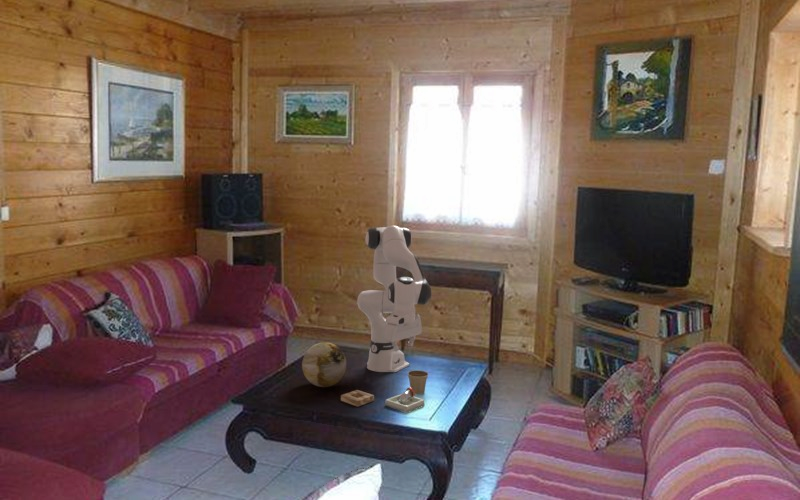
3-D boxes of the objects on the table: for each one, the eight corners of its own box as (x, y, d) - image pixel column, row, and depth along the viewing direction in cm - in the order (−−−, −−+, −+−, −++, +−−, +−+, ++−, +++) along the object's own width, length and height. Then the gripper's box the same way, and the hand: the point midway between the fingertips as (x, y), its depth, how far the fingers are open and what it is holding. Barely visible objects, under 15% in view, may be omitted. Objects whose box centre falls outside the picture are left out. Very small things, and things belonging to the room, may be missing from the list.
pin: (397, 403, 285) (407, 395, 290) (405, 406, 282) (415, 397, 288) (395, 395, 284) (406, 386, 289) (403, 397, 281) (414, 388, 286)
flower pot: (413, 396, 296) (413, 377, 295) (403, 390, 304) (403, 371, 303) (431, 394, 300) (432, 375, 299) (421, 387, 308) (422, 369, 307)
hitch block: (357, 395, 296) (357, 389, 295) (374, 400, 289) (374, 395, 289) (340, 400, 288) (340, 395, 288) (357, 406, 282) (357, 401, 281)
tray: (403, 398, 293) (403, 393, 293) (424, 405, 285) (424, 399, 285) (385, 405, 284) (385, 399, 284) (406, 412, 277) (406, 406, 276)
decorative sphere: (338, 395, 295) (339, 350, 292) (295, 390, 299) (296, 346, 296) (350, 381, 314) (351, 339, 312) (310, 377, 318) (310, 335, 315)
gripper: (414, 310, 293) (413, 341, 295) (382, 319, 277) (381, 351, 279) (425, 313, 289) (424, 344, 291) (394, 321, 273) (393, 355, 275)
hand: (403, 348), depth 285 cm, fingers open, 8 cm apart
